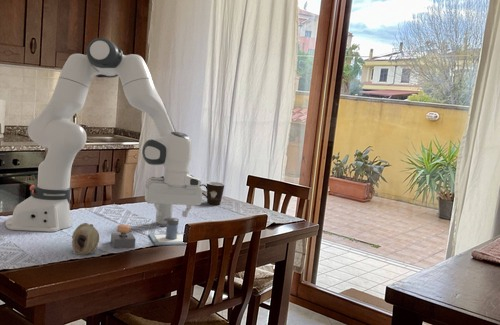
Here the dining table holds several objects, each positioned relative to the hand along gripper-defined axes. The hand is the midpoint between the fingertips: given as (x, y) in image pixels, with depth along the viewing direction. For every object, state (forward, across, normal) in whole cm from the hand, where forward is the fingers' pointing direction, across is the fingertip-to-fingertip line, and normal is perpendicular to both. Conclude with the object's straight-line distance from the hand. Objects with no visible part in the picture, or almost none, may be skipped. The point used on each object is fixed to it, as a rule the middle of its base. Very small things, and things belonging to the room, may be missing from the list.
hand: (171, 216), depth 187 cm
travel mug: (+9, +2, +21) cm, 23 cm away
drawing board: (+9, +1, +1) cm, 9 cm away
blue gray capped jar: (+8, +1, +1) cm, 9 cm away
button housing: (+10, -17, -3) cm, 20 cm away
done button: (+8, -17, -3) cm, 19 cm away
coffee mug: (+8, +33, +58) cm, 68 cm away
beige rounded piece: (+10, -30, -11) cm, 33 cm away
